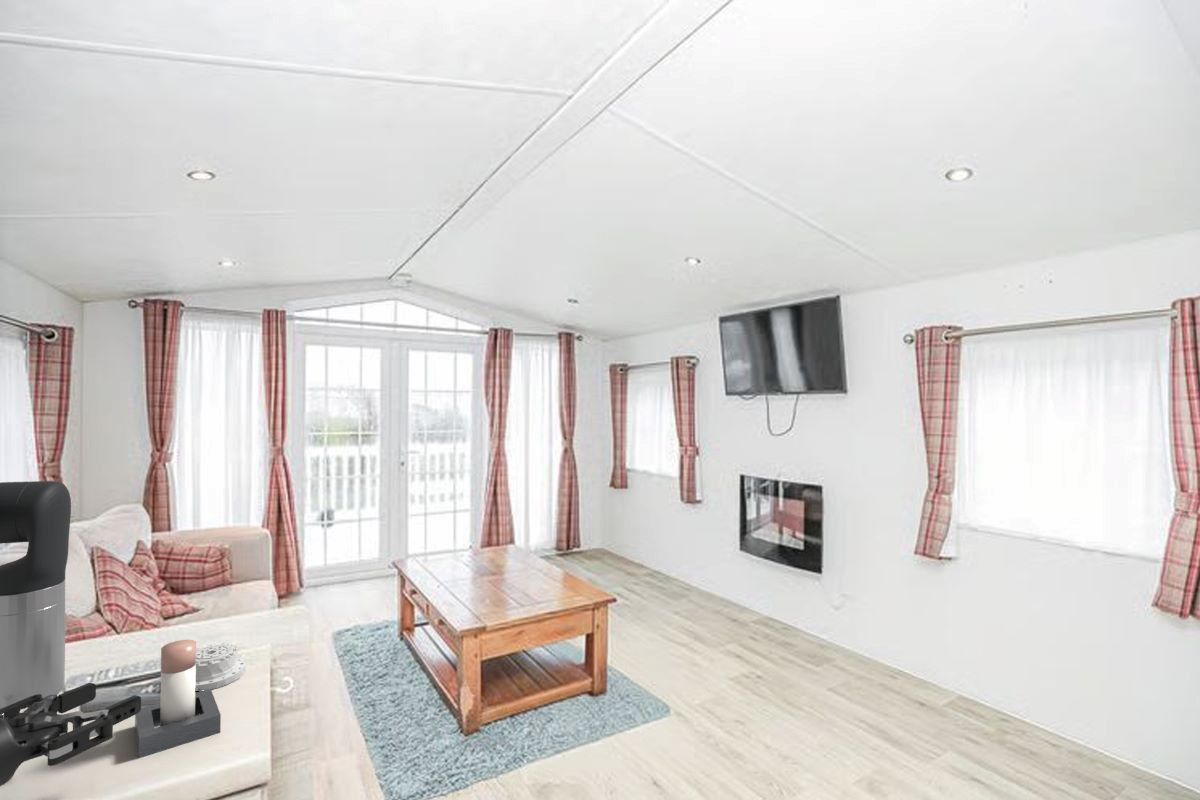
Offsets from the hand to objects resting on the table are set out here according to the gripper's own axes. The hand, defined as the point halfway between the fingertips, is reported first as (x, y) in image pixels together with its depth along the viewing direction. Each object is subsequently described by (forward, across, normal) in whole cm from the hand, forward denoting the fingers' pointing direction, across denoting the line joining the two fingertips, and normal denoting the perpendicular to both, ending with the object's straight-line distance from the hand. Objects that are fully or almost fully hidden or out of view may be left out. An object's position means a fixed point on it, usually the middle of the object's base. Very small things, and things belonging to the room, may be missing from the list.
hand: (116, 696), depth 75 cm
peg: (+8, 0, +9) cm, 12 cm away
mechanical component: (+20, +10, +9) cm, 24 cm away
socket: (+8, 0, +9) cm, 12 cm away
